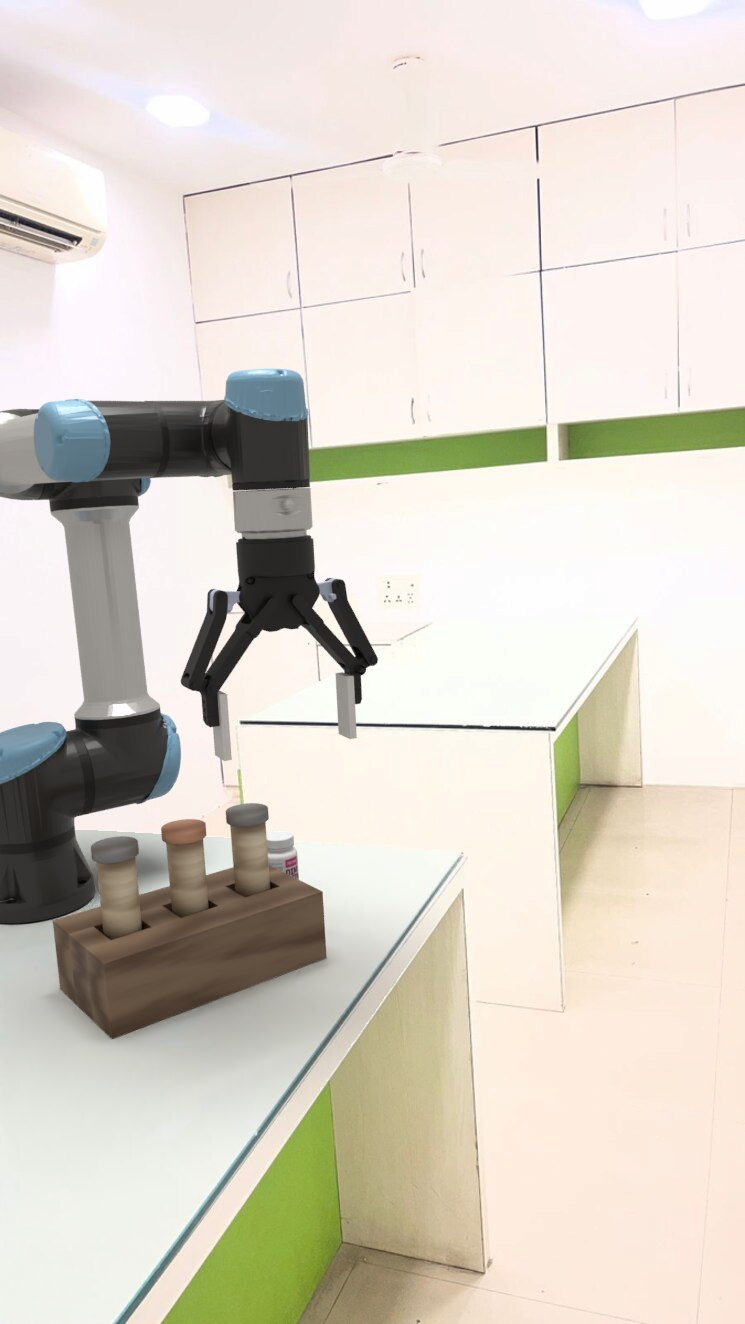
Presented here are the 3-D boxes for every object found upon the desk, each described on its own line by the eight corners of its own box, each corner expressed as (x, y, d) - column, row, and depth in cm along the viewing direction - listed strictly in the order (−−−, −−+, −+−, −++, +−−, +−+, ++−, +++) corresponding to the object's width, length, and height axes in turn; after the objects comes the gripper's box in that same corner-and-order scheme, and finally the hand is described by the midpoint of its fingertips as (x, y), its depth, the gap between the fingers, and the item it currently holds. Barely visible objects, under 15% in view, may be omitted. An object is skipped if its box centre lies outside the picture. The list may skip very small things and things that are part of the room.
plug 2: (225, 910, 121) (217, 809, 119) (261, 899, 124) (254, 800, 121) (246, 923, 117) (239, 819, 115) (282, 911, 120) (275, 809, 118)
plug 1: (94, 952, 111) (83, 844, 109) (136, 939, 114) (126, 833, 112) (112, 968, 107) (101, 855, 105) (155, 953, 110) (145, 844, 108)
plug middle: (162, 930, 116) (153, 826, 114) (201, 918, 119) (192, 816, 117) (182, 944, 112) (173, 836, 110) (221, 931, 115) (213, 826, 113)
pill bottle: (294, 904, 134) (290, 842, 133) (259, 903, 135) (254, 841, 134) (304, 890, 139) (300, 829, 137) (270, 888, 140) (265, 828, 138)
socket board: (60, 989, 114) (52, 920, 113) (262, 920, 130) (258, 859, 128) (111, 1038, 103) (104, 963, 102) (326, 957, 118) (322, 891, 117)
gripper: (160, 545, 92) (178, 776, 96) (405, 527, 103) (413, 734, 107) (137, 542, 98) (155, 758, 102) (369, 525, 110) (378, 721, 114)
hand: (287, 746), depth 105 cm, fingers open, 13 cm apart
